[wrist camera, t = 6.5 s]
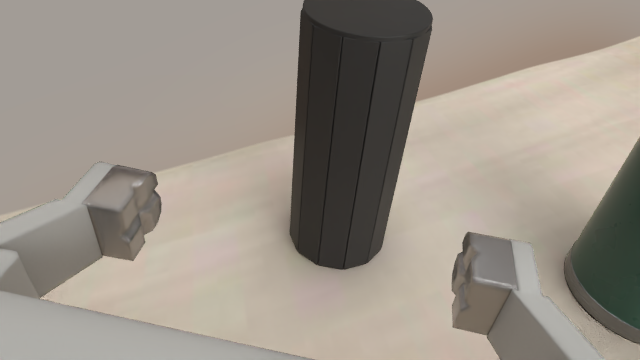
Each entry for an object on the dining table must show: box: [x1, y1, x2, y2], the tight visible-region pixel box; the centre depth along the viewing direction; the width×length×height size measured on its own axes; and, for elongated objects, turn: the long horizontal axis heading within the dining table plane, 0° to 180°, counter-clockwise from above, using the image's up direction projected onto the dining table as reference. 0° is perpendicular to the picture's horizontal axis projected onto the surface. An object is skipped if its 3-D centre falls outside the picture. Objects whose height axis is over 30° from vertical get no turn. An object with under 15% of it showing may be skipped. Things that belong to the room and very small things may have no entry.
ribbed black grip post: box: [290, 0, 433, 269], centre depth 26 cm, size 6×6×14 cm
